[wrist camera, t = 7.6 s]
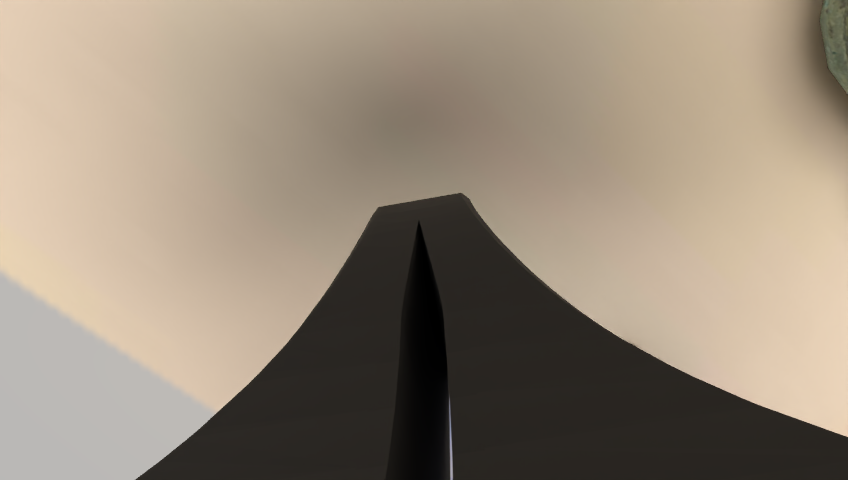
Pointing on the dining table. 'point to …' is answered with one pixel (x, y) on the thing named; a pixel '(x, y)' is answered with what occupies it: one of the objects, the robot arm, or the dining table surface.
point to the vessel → (836, 38)
